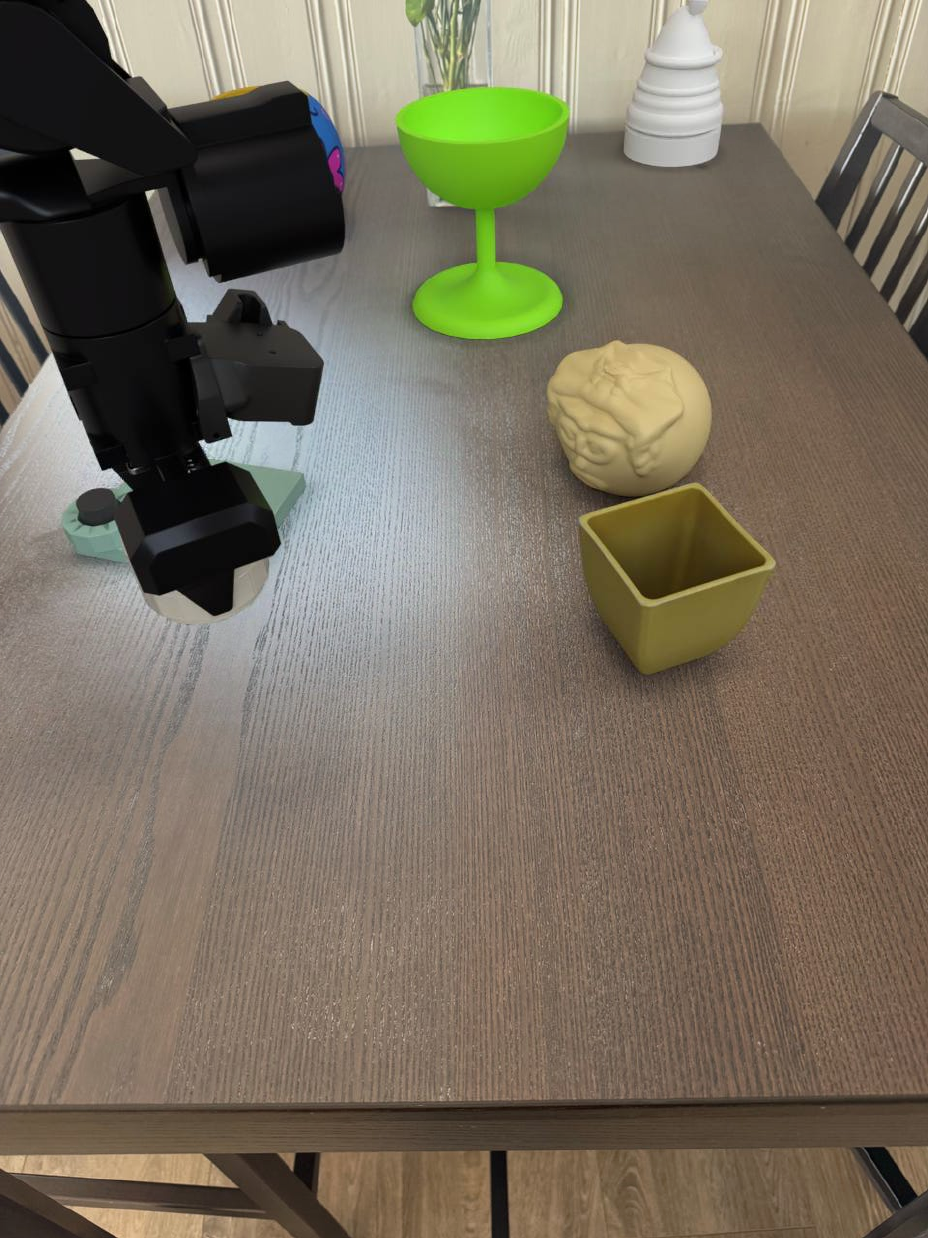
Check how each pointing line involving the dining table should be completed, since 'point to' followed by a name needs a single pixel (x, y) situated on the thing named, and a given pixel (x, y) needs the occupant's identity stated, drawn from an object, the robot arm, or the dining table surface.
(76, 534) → the scale
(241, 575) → the bowl
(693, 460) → the sculpture
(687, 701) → the dining table surface
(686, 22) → the honey pot
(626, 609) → the flower pot
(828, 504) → the dining table surface
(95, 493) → the button
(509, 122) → the wineglass
